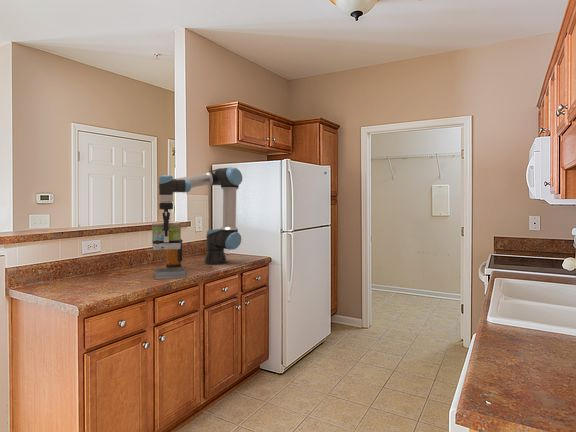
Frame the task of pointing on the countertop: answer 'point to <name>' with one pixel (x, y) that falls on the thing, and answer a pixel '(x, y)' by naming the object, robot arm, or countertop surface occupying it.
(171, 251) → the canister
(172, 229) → the tea box
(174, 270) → the grey flat slab
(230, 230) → the robot arm
